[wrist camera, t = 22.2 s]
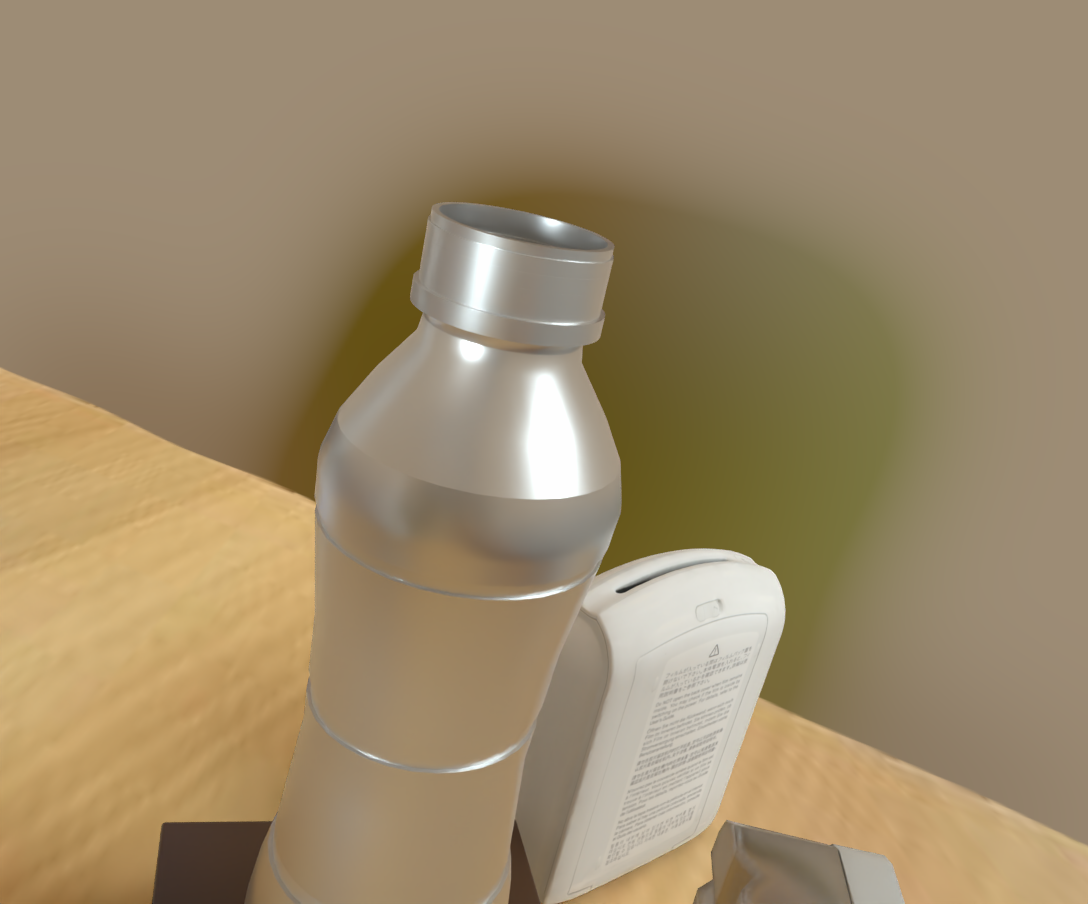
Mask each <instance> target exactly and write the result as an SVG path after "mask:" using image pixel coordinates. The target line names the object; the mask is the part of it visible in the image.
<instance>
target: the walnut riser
mask: <svg viewBox="0 0 1088 904" xmlns="http://www.w3.org/2000/svg"><path fill="white" fill-rule="evenodd" d="M272 822H273V821H260V822H166V823H163V824H162V826H161V834H160V842H159V850H158V858H157V866H156V874H155V882H154V891H153V899H152V904H244V903H245V898H246V893H247V889H248V885H249V882H250V879H251V876H252V873H253V870H254V866H255V863H256V860H257V857H258V854H259V851H260V848H261V846H262V843H263V841H264V839H265V837H266V835H267V833H268V830H269V828H270V826H271V824H272ZM510 851H511V884H510V893H509V901H508V904H541V902H540V899H539V895H538V892H537V889H536V885H535V882H534V879H533V875H532V872H531V868H530V865H529V862H528V858H527V855H526V852H525V848H524V845H523V842H522V838H521V835H520V832H519V828H518V825H517V822H516V820H514V826H513V832H512V838H511V844H510Z"/></svg>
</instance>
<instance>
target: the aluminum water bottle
mask: <svg viewBox="0 0 1088 904" xmlns="http://www.w3.org/2000/svg"><path fill="white" fill-rule="evenodd" d="M613 250H614V244H613V243H612V242H610V241H609V240H608V239H606V238H605V237H603V236H601V235H598V234H596V233H594V232H592V231H589V230H587V229H584V228H581V227H578V226H575V225H572V224H569V223H566V222H562V221H559V220H555V219H552V218H548V217H544V216H540V215H536V214H532V213H527V212H523V211H518V210H513V209H508V208H501V207H496V206H489V205H481V204H474V203H461V202H444V203H437V204H435V205H433V206H432V212H431V215H430V216H429V217H428V223H427V229H426V236H425V241H424V248H423V254H422V260H421V266H420V270H418V271H417V272H416V273H414V276H413V282H412V288H411V294H410V300H411V301H412V303H413V304H414V306H416V307H417V308H418V309H420V310H421V311H422V312H423V315H422V318H421V320H420V323H419V326H418V329H417V330H416V331H415V332H414V333H412V334H411V335H410V336H409V337H408V338H407V339H406V340H405V341H404V342H403V343H401V344H400V345H399V346H398V347H397V348H396V349H395V350H394V351H393V352H392V353H391V354H389V355H388V356H387V357H386V358H385V359H384V360H383V361H382V362H381V363H379V364H378V365H377V366H376V368H375V369H374V370H373V371H372V372H371V373H370V374H369V376H368V377H367V378H366V379H365V380H364V381H363V382H362V383H361V385H360V386H359V387H358V388H357V389H356V390H355V391H354V392H353V393H352V395H351V396H350V397H349V398H348V399H347V400H346V401H345V402H344V404H343V405H342V406H341V407H340V408H339V410H338V412H337V414H336V416H335V418H334V420H333V422H332V424H331V426H330V428H329V430H328V432H327V435H326V436H325V438H324V440H323V442H322V444H321V448H320V451H319V455H318V465H317V477H316V487H315V499H316V508H315V617H314V626H313V635H312V644H311V653H310V662H309V679H308V685H307V690H306V699H305V709H304V717H303V721H302V725H301V728H300V732H299V736H298V739H297V743H296V747H295V750H294V754H293V758H292V761H291V765H290V769H289V772H288V776H287V780H286V783H285V787H284V791H283V794H282V798H281V802H280V805H279V809H278V812H277V814H276V816H275V818H274V820H273V822H272V824H271V826H270V828H269V830H268V833H267V835H266V837H265V839H264V841H263V843H262V846H261V848H260V851H259V854H258V857H257V860H256V863H255V866H254V870H253V873H252V876H251V879H250V882H249V885H248V889H247V893H246V898H245V903H244V904H508V901H509V893H510V884H511V851H510V844H511V838H512V832H513V826H514V820H515V814H516V809H517V803H518V797H519V791H520V785H521V779H522V773H523V768H524V762H525V757H526V754H527V751H528V748H529V745H530V742H531V739H532V736H533V733H534V730H535V727H536V723H537V716H538V714H539V712H540V710H541V708H542V706H543V703H544V700H545V697H546V694H547V691H548V688H549V685H550V682H551V679H552V676H553V673H554V670H555V667H556V664H557V661H558V658H559V655H560V653H561V650H562V648H563V646H564V644H565V641H566V639H567V637H568V635H569V633H570V630H571V628H572V626H573V624H574V621H575V619H576V617H577V615H578V613H579V610H580V608H581V606H582V604H583V602H584V599H585V597H586V595H587V593H588V590H589V588H590V586H591V584H592V582H593V579H594V577H595V575H596V573H597V571H598V568H599V566H600V564H601V562H602V558H603V556H604V554H605V552H606V551H607V549H608V547H609V544H610V541H611V538H612V535H613V532H614V529H615V526H616V523H617V521H618V519H619V516H620V513H621V465H620V458H619V455H618V452H617V449H616V446H615V444H614V440H613V437H612V435H611V431H610V428H609V425H608V422H607V419H606V416H605V414H604V412H603V410H602V407H601V405H600V403H599V401H598V398H597V396H596V394H595V392H594V390H593V387H592V385H591V383H590V381H589V378H588V376H587V374H586V372H585V369H584V367H583V365H582V347H583V345H588V344H591V343H594V342H596V341H597V340H598V339H599V338H600V335H601V331H602V326H603V323H604V318H605V313H604V311H603V310H602V305H603V300H604V296H605V292H606V287H607V283H608V279H609V275H610V271H611V267H612V263H613V259H614V256H613V255H612V254H613Z"/></svg>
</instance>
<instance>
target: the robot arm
mask: <svg viewBox="0 0 1088 904" xmlns="http://www.w3.org/2000/svg"><path fill="white" fill-rule="evenodd" d="M711 859H712V872H713V880H711V881H710V882H708V883H706V884H705V885H703V886H702V887H700V888H698V890H697V893H696V896H695V899H694V902H693V904H905V902H904V899H903V896H902V893H901V890H900V887H899V884H898V881H897V877H896V874H895V871H894V868H893V865H892V863H891V862H890V861H889V860H888V859H887V858H886V857H885V856H884V855H880V854H876V853H871V852H866V851H862V850H857V849H853V848H848V847H844V846H839V845H835V844H831V845H827V844H823V843H819V842H815V841H811V840H807V839H803V838H798V837H794V836H790V835H786V834H782V833H778V832H774V831H769V830H765V829H761V828H757V827H753V826H749V825H745V824H740V823H736V822H732V821H728V820H726V822H725V823H724V825H723V826H722V828H721V829H720V831H719V833H718V836H717V838H716V841H715V843H714V846H713V849H712V851H711Z"/></svg>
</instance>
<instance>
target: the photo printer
mask: <svg viewBox="0 0 1088 904" xmlns="http://www.w3.org/2000/svg"><path fill="white" fill-rule="evenodd" d="M784 622H785V603H784V596H783V593H782V589H781V586H780V583H779V581H778V579H777V577H776V575H775V574H774V573H773V572H772V571H771V570H770V569H767V568H765V567H762V566H759V565H757V564H756V563H755V562H754V561H753V560H752V559H751V558H750V557H748V556H745V555H743V554H740V553H737V552H733V551H728V550H720V549H686V550H678V551H671V552H666V553H661V554H656V555H652V556H648V557H645V558H641V559H638V560H635V561H632V562H629V563H626V564H624V565H621V566H618V567H616V568H613V569H611V570H609V571H606V572H604V573H602V574H600V575H598V576H596V577H594V579H593V582H592V584H591V586H590V588H589V590H588V593H587V595H586V597H585V599H584V602H583V604H582V606H581V608H580V610H579V613H578V615H577V617H576V619H575V621H574V624H573V626H572V628H571V630H570V633H569V635H568V637H567V639H566V641H565V644H564V646H563V648H562V650H561V653H560V655H559V658H558V661H557V664H556V667H555V670H554V673H553V676H552V679H551V682H550V685H549V688H548V691H547V694H546V697H545V700H544V703H543V706H542V708H541V710H540V712H539V714H538V716H537V723H536V727H535V730H534V733H533V736H532V739H531V742H530V745H529V748H528V751H527V754H526V757H525V762H524V768H523V773H522V779H521V785H520V791H519V797H518V803H517V809H516V814H515V820H516V822H517V825H518V828H519V832H520V835H521V838H522V842H523V845H524V848H525V852H526V855H527V858H528V862H529V865H530V868H531V872H532V875H533V879H534V882H535V885H536V889H537V892H538V895H539V899H540V901H541V903H542V904H558V903H561V902H564V901H567V900H570V899H573V898H576V897H578V896H580V895H583V894H585V893H587V892H589V891H591V890H593V889H595V888H597V887H600V886H602V885H604V884H606V883H608V882H610V881H612V880H614V879H616V878H618V877H620V876H622V875H624V874H626V873H628V872H630V871H632V870H634V869H636V868H638V867H640V866H642V865H644V864H646V863H648V862H650V861H652V860H654V859H656V858H658V857H660V856H662V855H664V854H666V853H668V852H669V851H672V850H674V849H676V848H678V847H679V846H681V845H683V844H684V843H686V842H688V841H690V840H691V839H693V838H695V837H696V836H698V835H699V834H700V833H702V832H703V831H704V830H705V829H706V828H707V827H708V826H709V825H710V824H711V823H712V821H713V820H714V818H715V816H716V814H717V812H718V809H719V807H720V804H721V801H722V798H723V795H724V792H725V790H726V787H727V784H728V781H729V778H730V775H731V772H732V770H733V767H734V764H735V761H736V758H737V756H738V753H739V750H740V747H741V745H742V742H743V739H744V736H745V733H746V731H747V728H748V725H749V722H750V720H751V717H752V714H753V711H754V708H755V705H756V702H757V700H758V697H759V694H760V691H761V689H762V686H763V684H764V681H765V678H766V675H767V672H768V669H769V667H770V664H771V661H772V658H773V656H774V653H775V650H776V647H777V645H778V642H779V639H780V636H781V633H782V630H783V626H784Z"/></svg>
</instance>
